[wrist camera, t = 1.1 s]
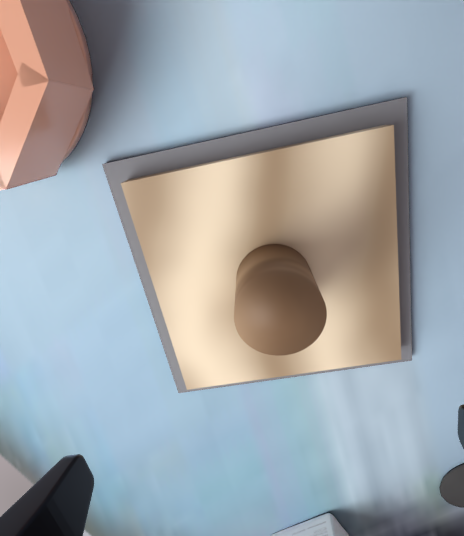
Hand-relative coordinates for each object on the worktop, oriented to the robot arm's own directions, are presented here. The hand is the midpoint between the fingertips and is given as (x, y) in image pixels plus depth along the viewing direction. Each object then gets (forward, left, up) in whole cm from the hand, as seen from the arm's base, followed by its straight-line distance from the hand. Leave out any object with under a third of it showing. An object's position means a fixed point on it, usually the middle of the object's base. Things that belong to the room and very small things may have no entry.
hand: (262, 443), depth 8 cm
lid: (-1, +1, -12) cm, 12 cm away
